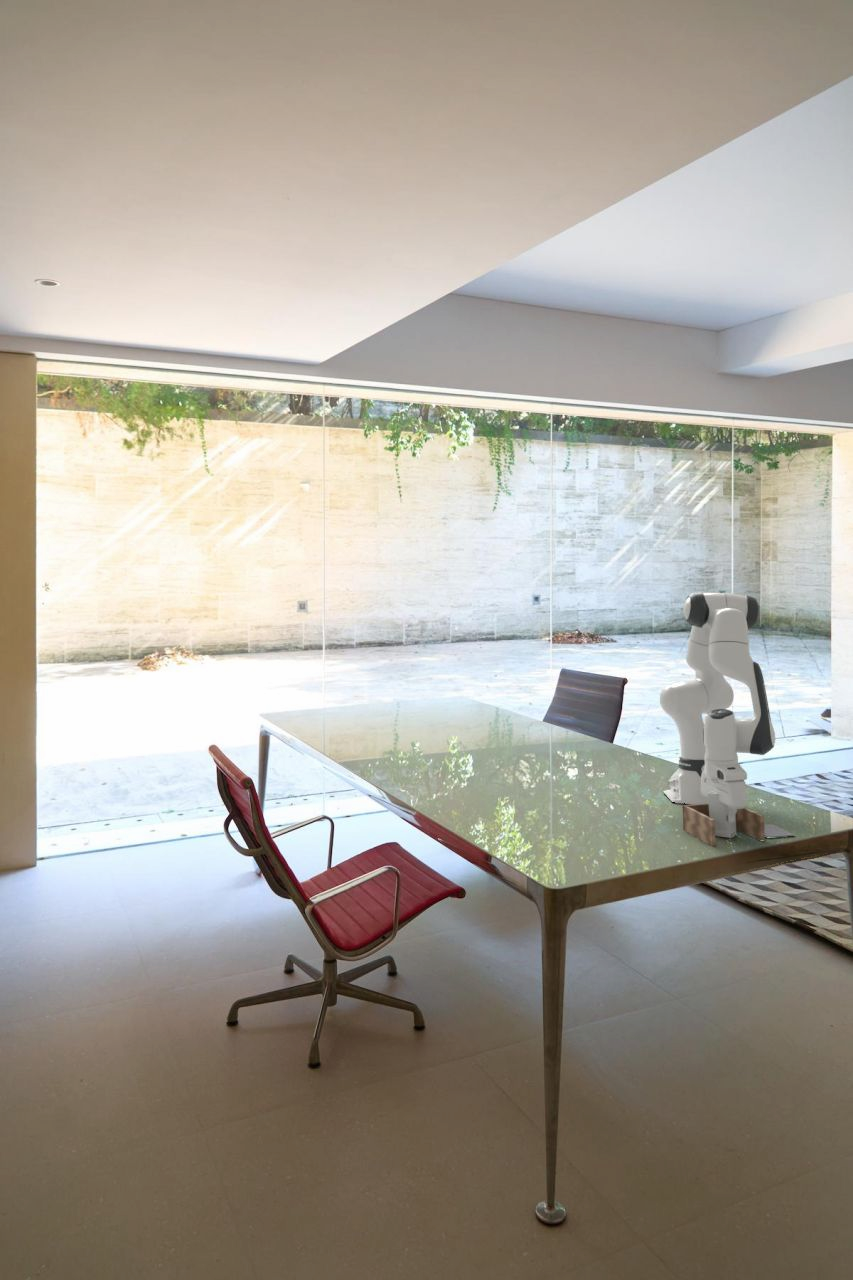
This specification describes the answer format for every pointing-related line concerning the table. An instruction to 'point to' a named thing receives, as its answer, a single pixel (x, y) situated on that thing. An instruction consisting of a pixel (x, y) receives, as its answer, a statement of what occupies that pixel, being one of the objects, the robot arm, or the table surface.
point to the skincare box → (720, 817)
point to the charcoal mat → (775, 831)
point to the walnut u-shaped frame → (704, 826)
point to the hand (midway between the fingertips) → (723, 818)
